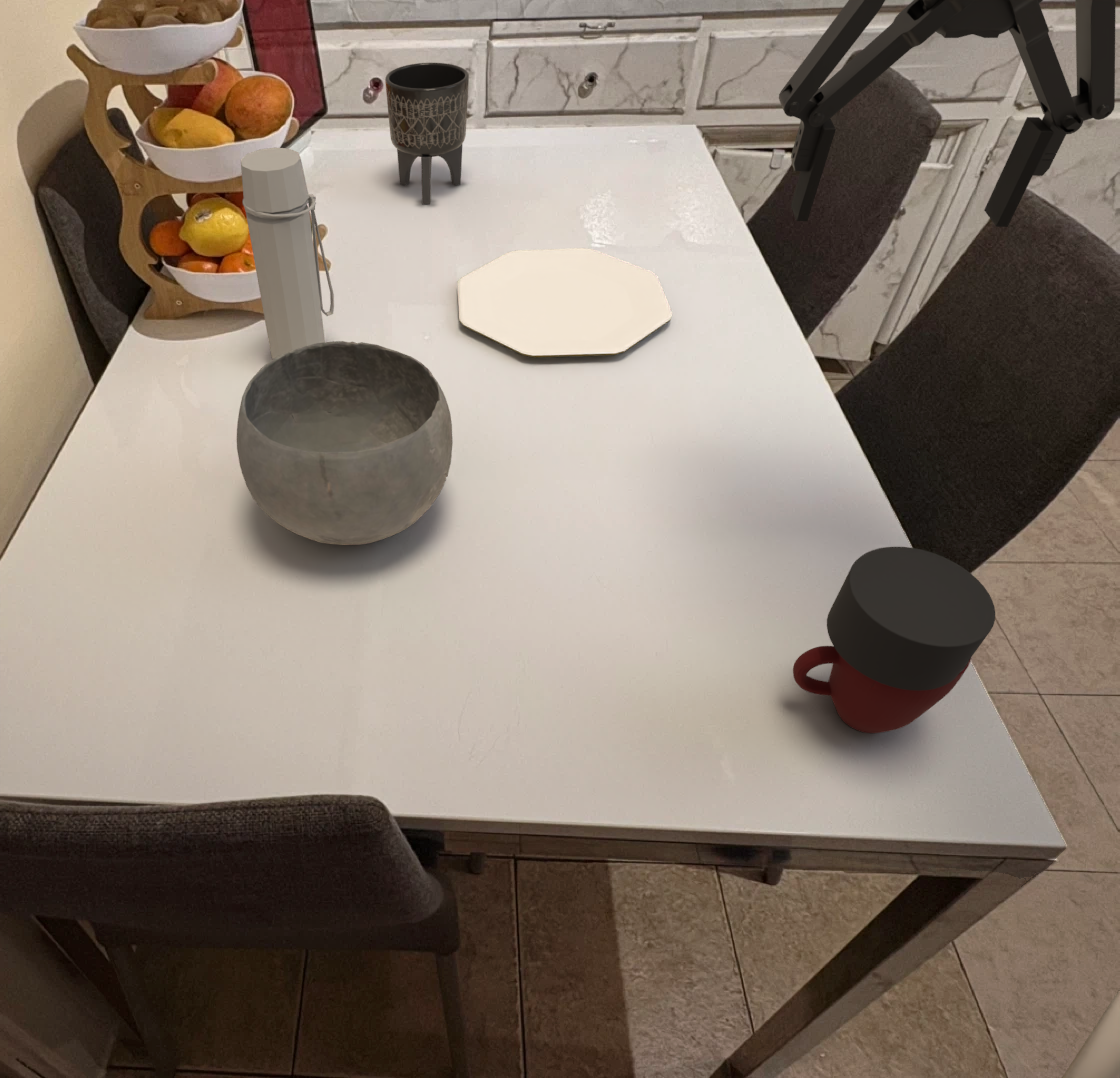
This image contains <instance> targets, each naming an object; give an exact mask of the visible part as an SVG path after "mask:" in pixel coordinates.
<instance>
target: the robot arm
mask: <svg viewBox="0 0 1120 1078" xmlns="http://www.w3.org/2000/svg"><path fill="white" fill-rule="evenodd" d="M1043 1H1044V0H912V1H911V2H910V3H909V4H907V6H905V8H903V9H902V10H901V11H900V12H899V13H898V14H897V15H896V16H895V17H894V19H893V21H892V23H890V25H889V26H887V27H886V28H885V29H884V30H883V31H882V32H881V33H880V34H878V35H877V36H876V37H875V38H874V39H873V40H872V41H870V42H869V43H868V44H867V45H866V46H865V47H863V49H861V51H859V52H858V53H857V54H856V55H855V56H854V57H853V58H851V59H850V60H849V61H848V62H847V63H846V64H845V65H844V66H842V67H841V68H840V69H839V70H838V71H837V72H836V73H835V74H834V75H833V76H831V78H829V79H828V77H829V76H830V75H831V74H832V73H833V71H834V70H835V68H836V67H837V66H838V65H839V63H840V62H841V61H842V59H844V57H845V56H846V54H847V53H848V52H849V50H850V49H851V48H852V47H853V45H854V44H855V43H856V41H858V39H859V38H860V36H861V35H862V34H863V32H864V31H865V30H866V29H867V28H868V26H869V25H870V23H871V22H872V21H873V19H874V18H875V17H876V16H877V14H878V13H879V11H880V10H881V8H882V7H883V5H884V3H886V0H848V1H846V3H845V5H844V6H843V7H842V9H841V10H840V11H839V13H838V14H837V15H836V17H834V19H833V21H832V22H831V23H830V25H829V26H828V27H827V29H826V30H825V32H823V34H822V35H821V37H820V39H819V40H818V41H817V42H816V43H815V45H814V46H813V48H812V49H811V50H810V51H809V53H808V54H807V55H806V57H805V58H804V60H803V61H802V62H801V64H800V65H799V66H798V68H797V69H796V71H795V72H794V73H793V74H792V75H791V77H790V78H789V79H788V81H787V82H786V84H785V85H784V87H782V89H781V90H780V92H779V94H778V101H779V103H780V105H781V108H782V110H783V112H784V114H785V116H787V117H794V118H796V119H799V120H800V122H799V126H798V130H797V133H796V136H795V140H794V143H793V148H792V150H791V155H790V161H791V165H792V167H793V171H794V172H799V176H798V178H797V182H796V186H795V190H794V193H793V197H792V200H791V203H790V207H791V210H792V212H793V215H794V218H795V220H796V222H808V220H809V218H810V214H811V211H812V208H813V204H814V201H815V198H816V195H817V192H818V189H819V185H820V182H821V178H822V175H823V172H824V170H825V166H826V163H827V160H828V156H829V153H830V149H831V146H832V143H833V140H834V137H835V134H836V131H837V129H836V126H835V124H834V123H833V121H832V119H831V118H833V117H834V116H835V115H836V114H837V113H838V112H840V111H841V110H842V109H843V108H844V107H845V106H847V104H849V103H850V102H851V101H853V100H854V99H855V98H856V97H857V96H858V95H859V94H861V93H862V92H863V91H864V90H866V88H868V87H869V86H870V85H871V84H872V83H873V82H874V81H875V80H877V79H878V78H879V77H880V76H882V75H883V74H884V73H885V72H886V71H887V70H888V69H890V68H891V67H892V66H893V65H894V64H895V63H896V62H897V61H899V60H900V59H901V58H902V57H904V55H906V54H907V53H908V52H910V50H912V49H914V48H915V47H919V46H920V45H922V44H923V43H924V42H926V41H927V40H928V39H929V38H930V37H932V36H933V35H934V34H935V33H937V34H938V35H941V36H942V37H943V38H945V39H959V38H963V37H966V36H967V37H968V36H971V35H974V36H977V37H979V38H980V37H981V38H984V39H999V36H1000V35H1002V34H1004V33H1006V32H1008V31H1009V33H1010V34H1011V36H1012V38H1013V40H1014V43H1015V46H1016V49H1017V51H1018V54H1019V56H1020V58H1021V60H1022V63H1023V66H1024V68H1025V71H1026V74H1027V76H1028V78H1029V81H1030V84H1031V86H1032V88H1033V91H1034V94H1035V96H1036V98H1037V101H1038V105H1039V106H1040V109H1041V111H1042V113H1043V116H1042V119H1041V118H1040V117H1038V116H1027V117H1026V119H1025V121H1024V123H1023V125H1022V126H1021V129H1020V132H1019V134H1018V136H1017V138H1016V140H1015V142H1014V145H1013V147H1012V149H1011V150H1010V153H1009V156H1008V157H1007V159H1006V162H1005V164H1004V166H1003V168H1002V171H1001V173H1000V175H999V176H998V179H997V181H996V184H995V186H994V187H993V190H992V192H991V195H990V196H989V199H988V201H987V203H986V206H985V208H984V210H983V211H984V212H985V214H986V215H987V216H988V218H989V219H990V220H991V222H992V223H993V224H994V226H995V228H996V227H997V228H1008V227H1009V225H1010V223H1011V221H1012V219H1013V217H1014V215H1015V213H1016V211H1017V209H1018V207H1019V204H1020V203H1021V201H1022V198H1023V197H1024V194H1025V193H1026V190H1027V188H1028V186H1029V184H1030V182H1031V180H1032V178H1033V176H1034V177H1043V176H1044V175H1045V174H1046V173H1047V172H1048V171H1049V169H1050V168H1051V166H1052V164H1053V162H1054V160H1055V158H1056V156H1057V154H1058V152H1059V151H1060V148H1061V146H1062V144H1063V141H1064V140H1065V138H1066V135H1071V134H1074V133H1075V132H1077V131H1079V130H1080V128H1082V126H1083V124H1084V122H1085V121H1088V120H1092V119H1094V120H1098V121H1099V120H1104V119H1106V118H1108V117H1109V116H1110V115H1111V114H1112V113H1113V111H1114V109H1115V106H1116V105H1115V104H1116V100H1115V99H1116V93H1115V92H1116V4H1117V3H1116V0H1075V5H1074V6H1075V7H1074V9H1075V10H1074V11H1075V12H1074V13H1075V48H1076V49H1075V57H1076V58H1075V59H1076V60H1075V61H1076V62H1075V63H1076V65H1075V66H1076V95H1074V96H1072V93H1071V91H1070V88H1069V85H1068V83H1067V80H1066V78H1065V74H1064V71H1063V69H1062V67H1061V64H1060V62H1059V59H1058V56H1057V52H1056V51H1055V49H1054V45H1053V43H1052V40H1051V37H1050V34H1049V33H1050V29H1049V26H1048V24H1047V21H1046V18H1045V16H1044V13H1043V10H1042V7H1041V5H1040V4H1041V3H1042V2H1043ZM827 79H828V80H827ZM826 80H827V81H826ZM824 82H825V83H824ZM1061 1078H1120V988H1119V989H1118V990H1117V992H1116V993H1115V995H1114V997H1113V998H1112V1000H1111V1001H1110V1003H1109V1004H1108V1006H1107V1007H1106V1009H1105V1011H1104V1012H1103V1014H1102V1015H1101V1017H1100V1018H1099V1020H1098V1021H1097V1023H1096V1024H1095V1026H1094V1027H1093V1029H1092V1031H1091V1032H1090V1033H1089V1035H1088V1037H1087V1039H1086V1040H1085V1041H1084V1043H1083V1045H1082V1046H1081V1047H1080V1049H1079V1051H1078V1052H1077V1054H1076V1055H1075V1057H1074V1058H1073V1060H1072V1061H1071V1063H1070V1065H1069V1066H1068V1068H1067V1069H1066V1070H1065V1071H1064V1074H1063V1075H1062V1077H1061Z"/></svg>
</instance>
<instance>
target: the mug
mask: <svg viewBox="0 0 1120 1078" xmlns="http://www.w3.org/2000/svg"><path fill="white" fill-rule="evenodd" d="M971 661H972V657H971V658H970V660H969V661H968V662H967V664H966V665H965V667H964V668H963V669H962V671H961V672H960V673H959V675H958V676H957V677H956V678H955V679H954V680H953V681H951V682H950V683H948V684H946V685H944V686H942V687H939V688H936V689H931V690H921V691H916V690H905V689H899V688H895V687H891V686H888V685H885V684H882V683H880V682H877V681H875V680H873V679H871V678H869V677H867V676H865V675H863V674H862V673H860V672H859V671H857V670H856V669H855V668H853V667H852V666H851V665H850V664H848V663H847V662H846V661H845V660H844V659H843V658H842V657H841V655H840V654H839V653H838V652H837V650H836V649H835V647H834V646H833V645H819V646H815V647H813V648H810V649H808V650H806V651H804V652H803V653H801V655H799V656H798V657H797V658H796V660H795V662H794V663H793V666H792V676H793V679H794V681H795V683H796V684H797V686H798V687H799V688H801V689H802V690H804V691H806V692H808V693H811V694H815V695H821V696H830V698H831V700H832V703H833V706H834V708H835V711H836V713H837V715H838V716H839V718H840V719H841V720H842V721H843V722H844V723H845V724H846V725H847V726H848V727H850V728H852V729H854V730H856V731H858V732H861V733H865V734H879V733H885V732H891V731H896V730H898V729H901V728H904V727H906V726H908V725H910V724H912V723H913V722H915V721H916V720H917V719H918V718H920V717H921V716H923V714H925V713H926V712H927V711H928V710H930V709H931V708H933V707H934V706H935V705H936V704H938V703H939V702H940V701H941V700H942V699H944V698H945V697H946V696H947V695H948V694H950V692H951V691H952V690H953V689H954V688H955V686H956V685H957V684H958V682H959V681H960V680H961V678H962V677H963V675H964V674H965V672H966V671H967V669H968V667H969V666H970V663H971ZM826 664H831V665H832V667H831V670H830V675H829V678H828V681H825V680H820V679H816V678H813V677H810V676H808V673H809V672H810V671H811V670H813V669H814V668H816V667H818V666H821V665H826Z"/></svg>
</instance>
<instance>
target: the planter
mask: <svg viewBox="0 0 1120 1078" xmlns="http://www.w3.org/2000/svg"><path fill="white" fill-rule="evenodd" d="M469 74H470V73H469V72H468V70H466V69H465V68H464V67H461V66H459V65H455V64H452V63H445V62H418V63H412V64H406V65H402V66H399V67H396V68H394V69H392V70H391V71H389V72H388V73H387V74H386V75H385V79H384V80H385V81H384V82H385V91H386V93H385V94H386V103H387V114H388V124H389V136H390V141H391V144H392V145H393V147H394V148H395V149H396V152H397V165H398V178H399V185H400V186H404V187H405V186H407V185H409V184H410V179H411V170H412V168H413V167H412V166H413V164H414V162H415V161H416V159H417V158H420V168H421V169H420V170H421V171H420V172H421V197H422V198H421V203H422V205H431V204H432V203H431V202H432V193H431V192H432V161H433V158H435V157H439V158H441V159H443V160H444V161H445V163H446V164H447V168H448V170H449V175H450V182H451V183H450V184H452V185H453V186H454V187H455V186H460V185H461V182H462V163H463V144H464V143H465V139H466V137H467V136H466V135H467V119H468V103H469V102H468V101H469V100H468V99H469V84H470V83H469V81H470V75H469Z"/></svg>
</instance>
